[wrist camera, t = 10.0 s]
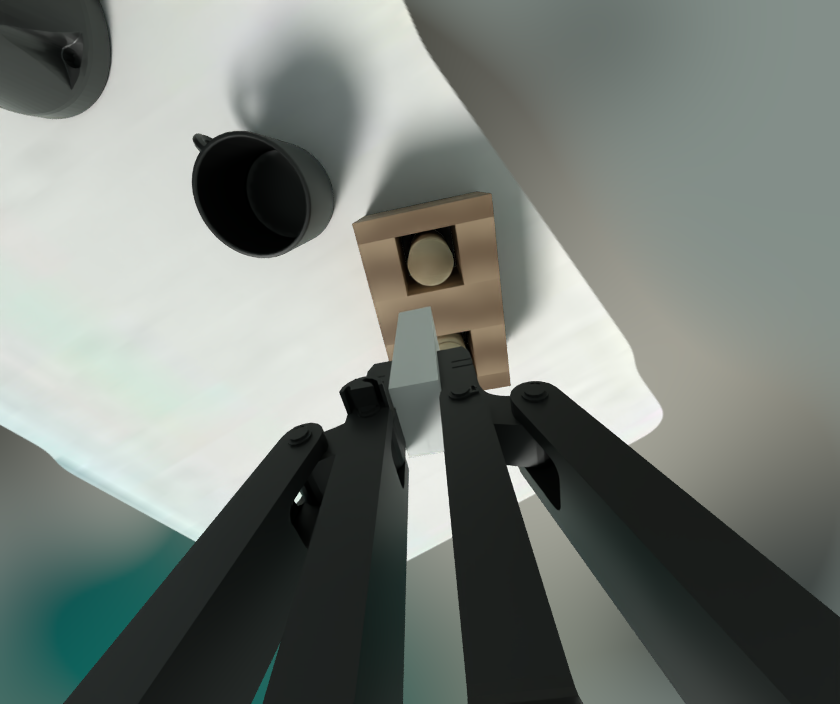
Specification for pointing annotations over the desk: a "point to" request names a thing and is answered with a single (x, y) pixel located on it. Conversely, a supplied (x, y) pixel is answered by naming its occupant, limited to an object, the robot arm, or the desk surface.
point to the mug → (260, 192)
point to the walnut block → (455, 297)
